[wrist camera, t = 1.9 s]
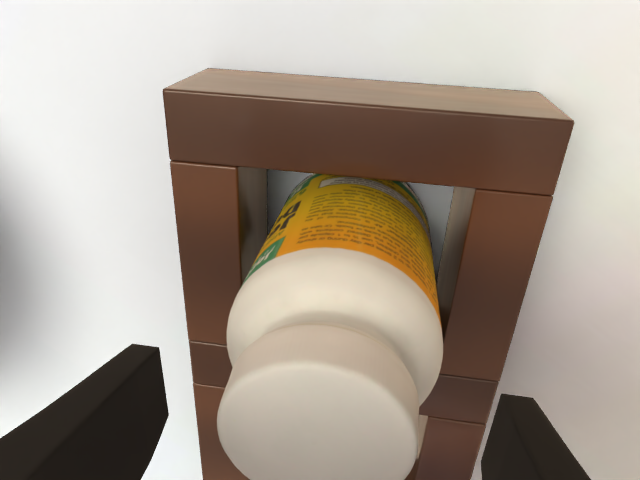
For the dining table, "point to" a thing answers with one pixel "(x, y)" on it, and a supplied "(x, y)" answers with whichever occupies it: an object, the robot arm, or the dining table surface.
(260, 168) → the holder
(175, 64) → the dining table surface
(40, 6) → the dining table surface
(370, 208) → the supplement bottle
